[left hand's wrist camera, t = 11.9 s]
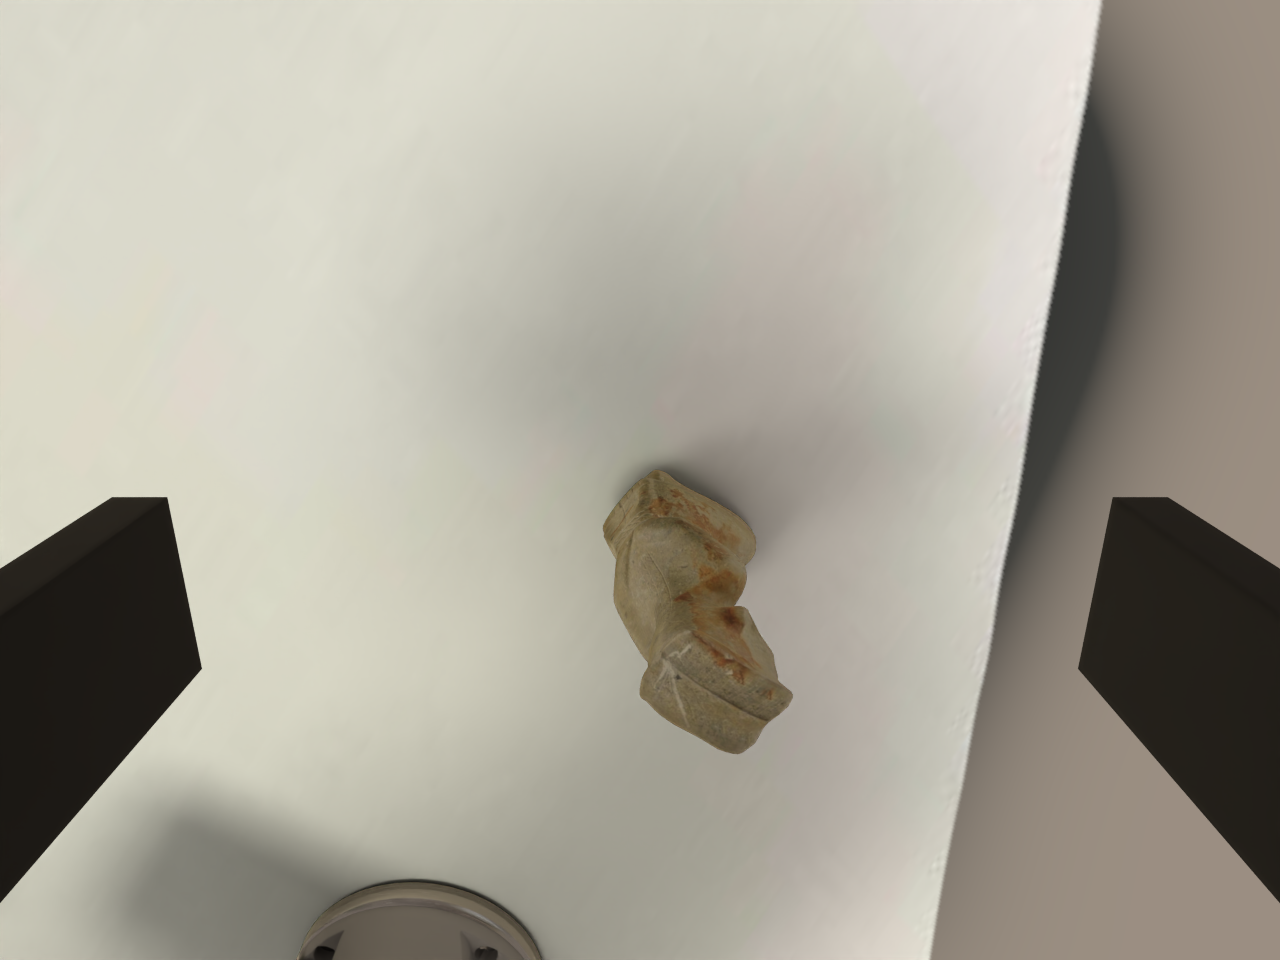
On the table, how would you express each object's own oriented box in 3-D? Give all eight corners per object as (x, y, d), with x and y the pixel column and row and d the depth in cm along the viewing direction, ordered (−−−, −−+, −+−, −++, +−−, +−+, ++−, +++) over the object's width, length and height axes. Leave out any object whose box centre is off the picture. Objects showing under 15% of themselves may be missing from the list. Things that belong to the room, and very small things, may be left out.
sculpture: (693, 601, 45) (718, 800, 31) (586, 518, 44) (561, 689, 30) (770, 522, 44) (832, 694, 30) (662, 433, 42) (673, 571, 28)
